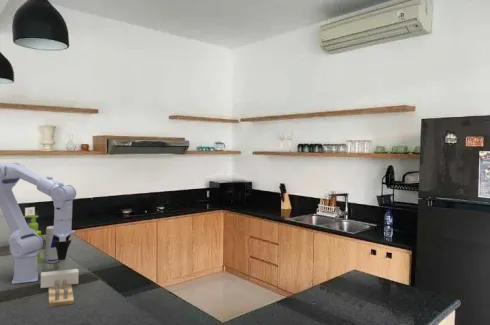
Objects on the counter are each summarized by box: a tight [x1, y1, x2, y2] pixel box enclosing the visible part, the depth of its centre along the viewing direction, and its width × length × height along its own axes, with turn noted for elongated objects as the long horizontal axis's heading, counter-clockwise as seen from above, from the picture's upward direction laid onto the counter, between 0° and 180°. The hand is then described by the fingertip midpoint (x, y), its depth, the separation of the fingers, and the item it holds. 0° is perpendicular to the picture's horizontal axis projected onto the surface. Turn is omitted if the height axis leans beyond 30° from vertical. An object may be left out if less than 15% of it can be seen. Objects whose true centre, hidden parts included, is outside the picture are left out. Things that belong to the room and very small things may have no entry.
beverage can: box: [44, 225, 60, 264], centre depth 156 cm, size 6×6×15 cm
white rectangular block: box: [40, 268, 80, 289], centre depth 131 cm, size 12×4×4 cm, turn 119°
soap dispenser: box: [23, 214, 42, 265], centre depth 153 cm, size 6×7×20 cm
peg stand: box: [48, 279, 75, 308], centre depth 120 cm, size 14×7×4 cm, turn 29°
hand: (61, 256), depth 131 cm, fingers open, 7 cm apart
